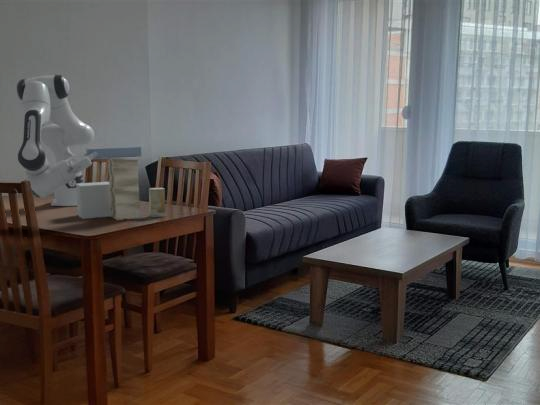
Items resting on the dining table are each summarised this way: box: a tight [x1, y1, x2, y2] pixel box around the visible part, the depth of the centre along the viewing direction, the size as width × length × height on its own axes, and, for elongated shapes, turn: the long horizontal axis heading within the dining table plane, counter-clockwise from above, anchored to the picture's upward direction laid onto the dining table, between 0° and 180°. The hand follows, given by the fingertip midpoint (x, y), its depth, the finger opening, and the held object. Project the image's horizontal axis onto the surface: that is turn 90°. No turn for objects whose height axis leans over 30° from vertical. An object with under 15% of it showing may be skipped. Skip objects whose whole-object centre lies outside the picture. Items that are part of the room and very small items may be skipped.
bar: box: [85, 146, 142, 160], centre depth 261 cm, size 4×22×4 cm, turn 117°
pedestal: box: [106, 157, 141, 221], centre depth 264 cm, size 11×11×26 cm
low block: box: [76, 181, 111, 220], centre depth 270 cm, size 10×14×14 cm
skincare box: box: [148, 187, 166, 218], centre depth 268 cm, size 6×4×12 cm
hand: (95, 152), depth 257 cm, fingers closed on bar, 4 cm apart
